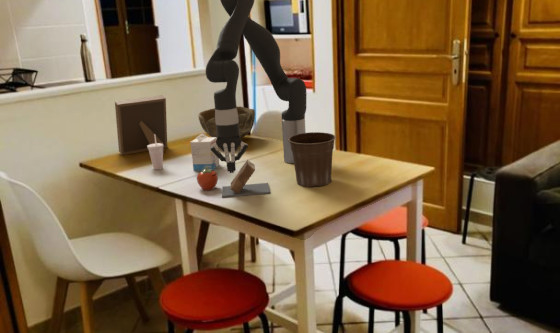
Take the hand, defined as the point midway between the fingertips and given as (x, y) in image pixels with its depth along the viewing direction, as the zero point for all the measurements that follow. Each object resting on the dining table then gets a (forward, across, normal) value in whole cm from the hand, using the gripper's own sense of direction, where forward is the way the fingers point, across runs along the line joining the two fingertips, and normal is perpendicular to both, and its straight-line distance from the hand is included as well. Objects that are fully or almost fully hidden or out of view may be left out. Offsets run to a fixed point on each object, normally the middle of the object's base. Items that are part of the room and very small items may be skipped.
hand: (231, 172), depth 175 cm
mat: (+7, -4, 0) cm, 8 cm away
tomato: (+7, +9, -6) cm, 13 cm away
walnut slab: (+6, 0, +1) cm, 6 cm away
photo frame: (+7, +40, -68) cm, 79 cm away
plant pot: (+7, -28, -4) cm, 29 cm away
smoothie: (+7, +31, -39) cm, 50 cm away
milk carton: (+7, +11, -34) cm, 36 cm away
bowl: (+8, +2, -77) cm, 77 cm away
